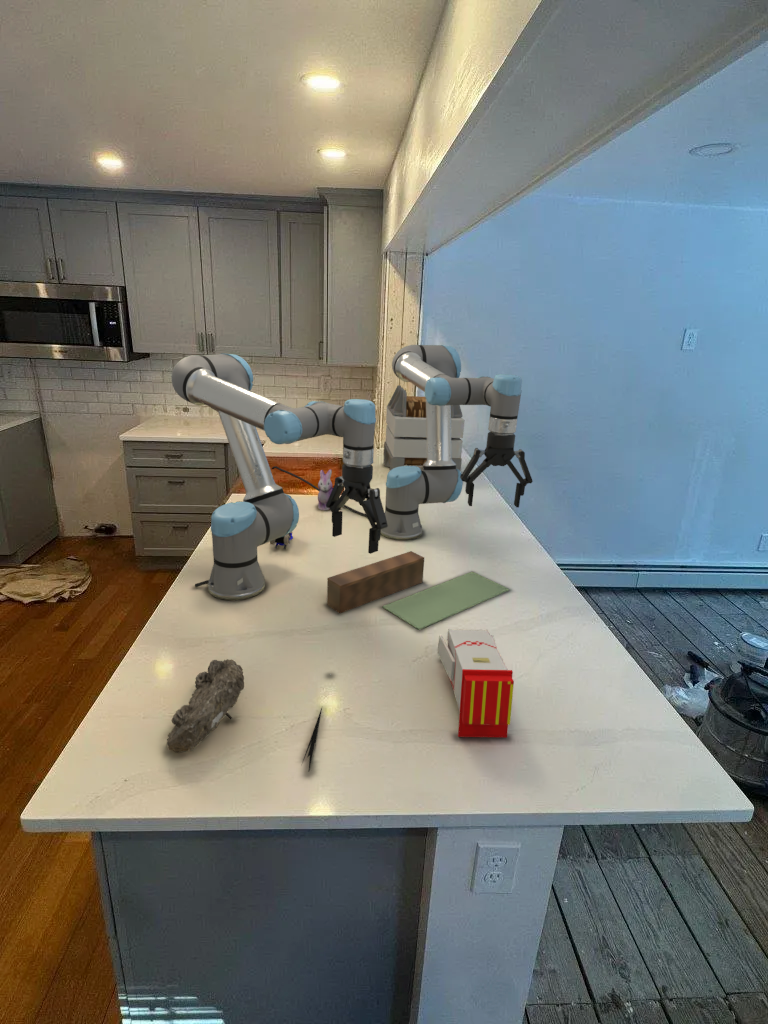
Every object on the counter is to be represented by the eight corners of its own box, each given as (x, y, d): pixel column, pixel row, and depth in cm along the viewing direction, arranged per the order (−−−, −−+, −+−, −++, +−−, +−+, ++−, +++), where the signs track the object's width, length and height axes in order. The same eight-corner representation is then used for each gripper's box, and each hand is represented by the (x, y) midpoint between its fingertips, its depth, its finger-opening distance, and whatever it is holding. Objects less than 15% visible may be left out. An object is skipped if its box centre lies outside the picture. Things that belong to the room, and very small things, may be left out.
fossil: (192, 660, 117) (244, 628, 112) (224, 691, 120) (276, 661, 115) (142, 746, 98) (202, 712, 93) (182, 779, 101) (242, 748, 96)
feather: (331, 679, 122) (336, 673, 122) (307, 777, 96) (313, 769, 95) (324, 675, 122) (329, 669, 121) (298, 772, 95) (304, 764, 95)
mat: (382, 607, 150) (382, 606, 150) (472, 572, 173) (472, 571, 173) (419, 630, 140) (419, 628, 140) (509, 590, 163) (509, 588, 163)
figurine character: (290, 555, 182) (296, 533, 195) (289, 535, 178) (295, 513, 192) (269, 555, 181) (276, 532, 195) (268, 534, 178) (275, 513, 191)
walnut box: (339, 613, 146) (340, 585, 144) (327, 604, 150) (327, 577, 148) (422, 582, 165) (424, 557, 162) (409, 575, 169) (411, 550, 166)
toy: (488, 613, 130) (523, 677, 101) (484, 667, 133) (517, 744, 104) (435, 612, 130) (455, 676, 101) (432, 666, 133) (451, 743, 103)
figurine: (321, 512, 217) (321, 474, 212) (311, 504, 225) (311, 467, 220) (344, 509, 221) (344, 472, 216) (333, 501, 229) (334, 465, 224)
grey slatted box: (382, 463, 289) (386, 382, 275) (445, 464, 293) (451, 384, 279) (390, 482, 257) (394, 392, 243) (460, 483, 261) (468, 394, 247)
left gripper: (313, 455, 144) (312, 532, 152) (383, 478, 128) (378, 563, 136) (335, 451, 150) (333, 525, 157) (405, 473, 134) (399, 555, 141)
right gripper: (459, 434, 152) (452, 508, 159) (550, 437, 153) (539, 510, 160) (454, 428, 159) (448, 499, 166) (542, 431, 160) (531, 502, 167)
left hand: (354, 543), depth 146 cm, fingers open, 13 cm apart
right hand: (493, 505), depth 163 cm, fingers open, 13 cm apart
